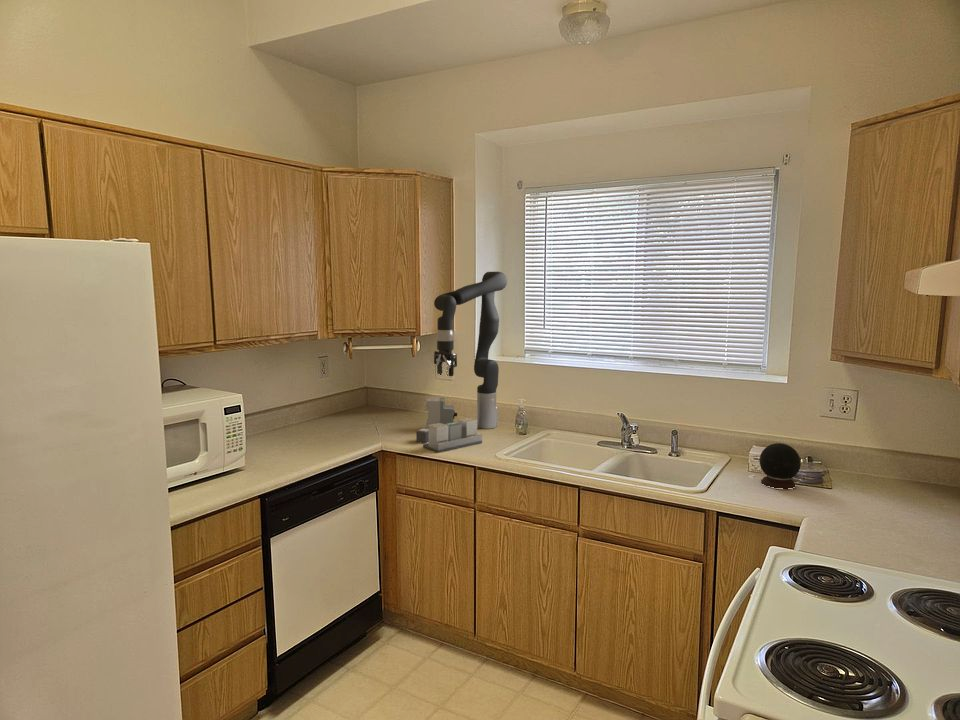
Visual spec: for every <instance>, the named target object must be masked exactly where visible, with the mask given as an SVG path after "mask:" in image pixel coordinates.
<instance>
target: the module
mask: <svg viewBox="0 0 960 720" xmlns="http://www.w3.org/2000/svg"><path fill="white" fill-rule="evenodd" d="M445 425H448V441H452V440H457V439H461V438H462V424H461V423H458V422H455V421H454V423H448V424H445Z"/></svg>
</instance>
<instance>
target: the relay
mask: <svg viewBox="0 0 960 720" xmlns="http://www.w3.org/2000/svg"><path fill="white" fill-rule="evenodd" d="M415 433H416V435H415V436H416V443H420V442H421V444H428V443H429V429H426V428H420V429H418V430H416V432H415ZM427 442H428V443H427Z"/></svg>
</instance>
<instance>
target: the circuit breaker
mask: <svg viewBox="0 0 960 720" xmlns="http://www.w3.org/2000/svg"><path fill="white" fill-rule="evenodd" d="M425 410H426V411H427V420H426V422H425V426H426V427H425V429H429V425H431V424H436V423H442V424H448V423H454V422H455V417H458V412H455V405H446V399H445V397H428V398H427V399H426V403H425Z"/></svg>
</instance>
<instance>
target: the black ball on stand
mask: <svg viewBox="0 0 960 720" xmlns="http://www.w3.org/2000/svg"><path fill="white" fill-rule="evenodd" d="M801 464H802V462H801V457H800V455H799V453H798V452H797V450H796V449H795V448H793V447H792V446H791V445H789V444H786V443H782V442H778V443H777V442H776V443H772V444H771V443H770V444H769V445H767V446H766V447H765V448H764V449H763V450H762V451H761V453H760V455H759V466H760V469H761V470H762V472H763V474H764V475H766V476H764V477H763V478H761V480H760V483H762V484H764V485H766V486H770V487H774V488H783V489H788V488H793V487H795V484H796V483H795V481H794V480H793V478H795V477H796V476H797V474H799V471H800V469H801V466H802V465H801ZM762 484H761V485H762ZM764 485H763V486H764ZM766 486H765V487H766Z"/></svg>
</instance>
